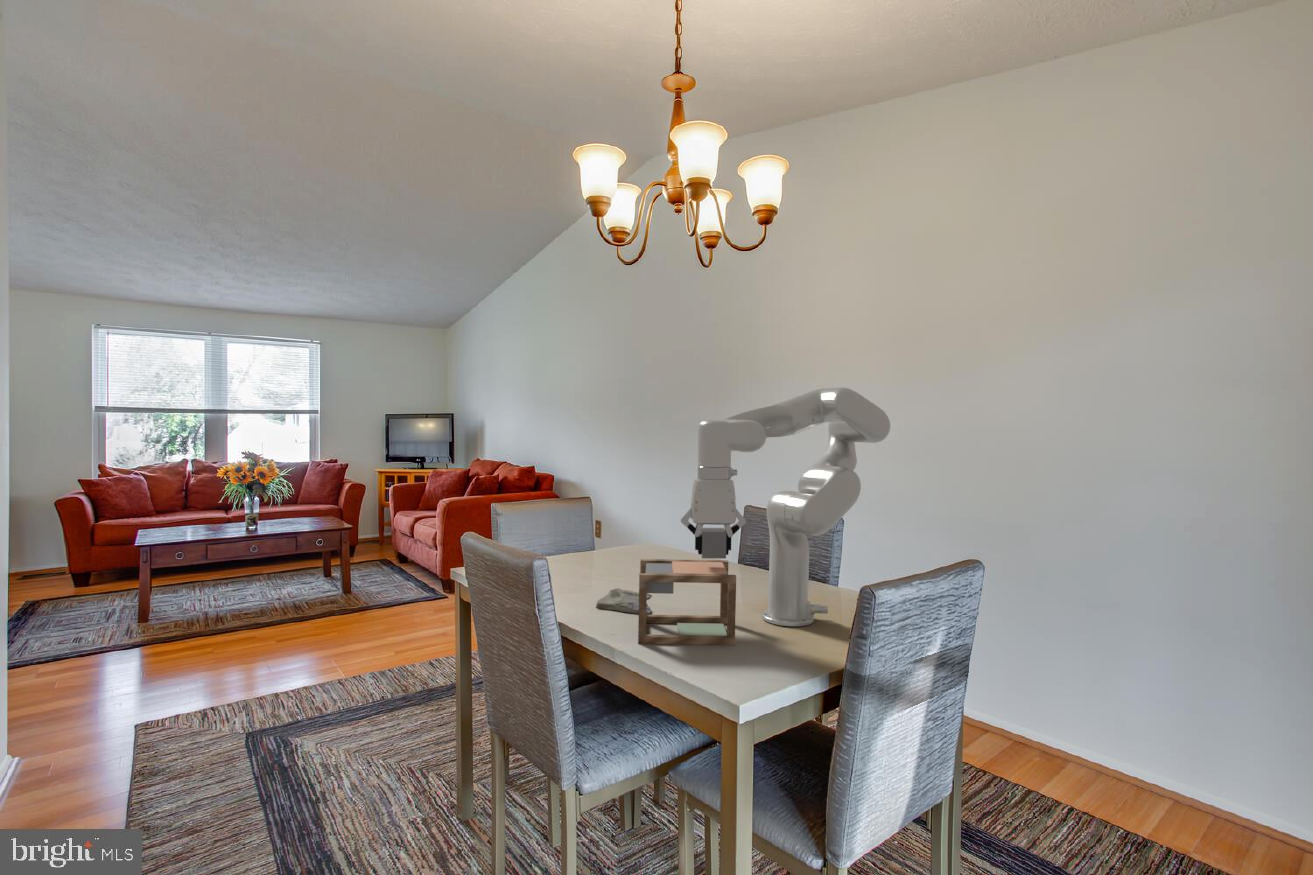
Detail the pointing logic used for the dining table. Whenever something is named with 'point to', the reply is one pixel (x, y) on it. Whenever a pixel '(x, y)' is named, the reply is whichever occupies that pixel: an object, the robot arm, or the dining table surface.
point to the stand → (725, 615)
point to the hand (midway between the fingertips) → (712, 552)
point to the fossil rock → (622, 601)
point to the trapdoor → (680, 572)
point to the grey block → (713, 543)
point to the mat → (701, 629)
